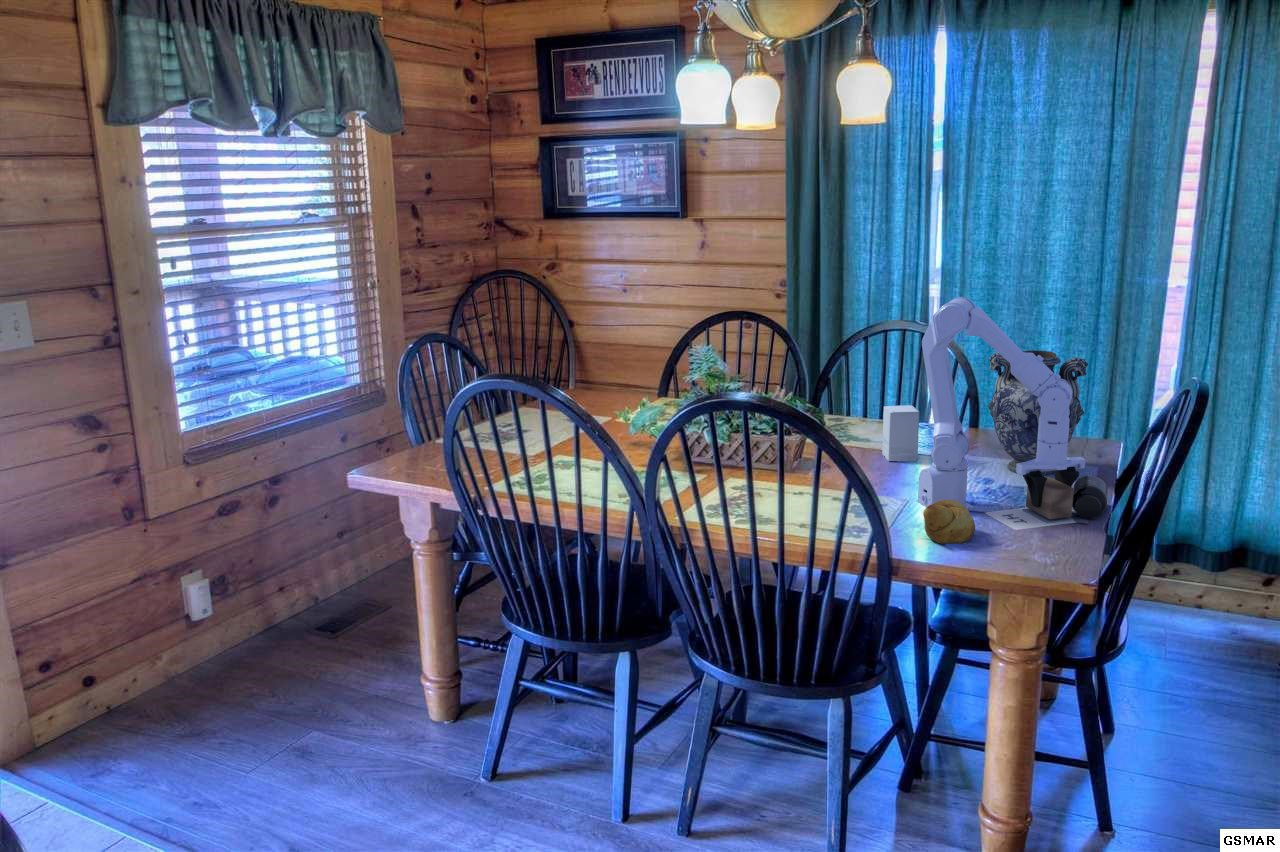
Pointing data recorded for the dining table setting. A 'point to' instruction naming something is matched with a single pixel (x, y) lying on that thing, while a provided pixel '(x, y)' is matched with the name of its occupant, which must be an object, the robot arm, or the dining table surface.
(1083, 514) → the supplement bottle
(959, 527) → the bread roll
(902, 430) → the supplement box
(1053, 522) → the pad
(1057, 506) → the walnut block
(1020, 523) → the board
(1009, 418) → the decorative vase
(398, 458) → the dining table surface
